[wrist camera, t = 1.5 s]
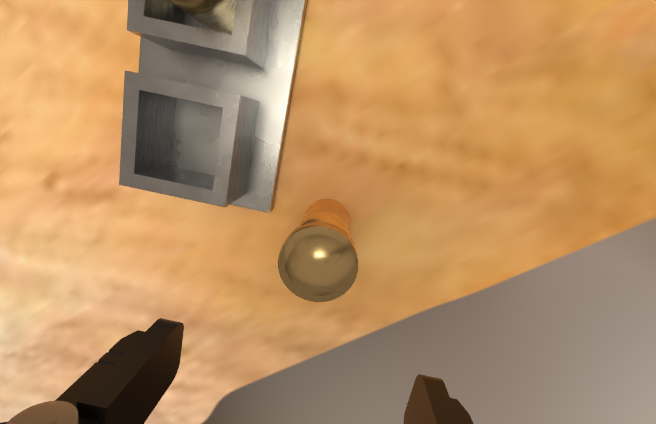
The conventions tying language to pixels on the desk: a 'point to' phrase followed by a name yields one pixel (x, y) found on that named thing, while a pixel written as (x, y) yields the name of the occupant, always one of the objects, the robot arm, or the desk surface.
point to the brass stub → (320, 254)
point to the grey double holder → (210, 98)
